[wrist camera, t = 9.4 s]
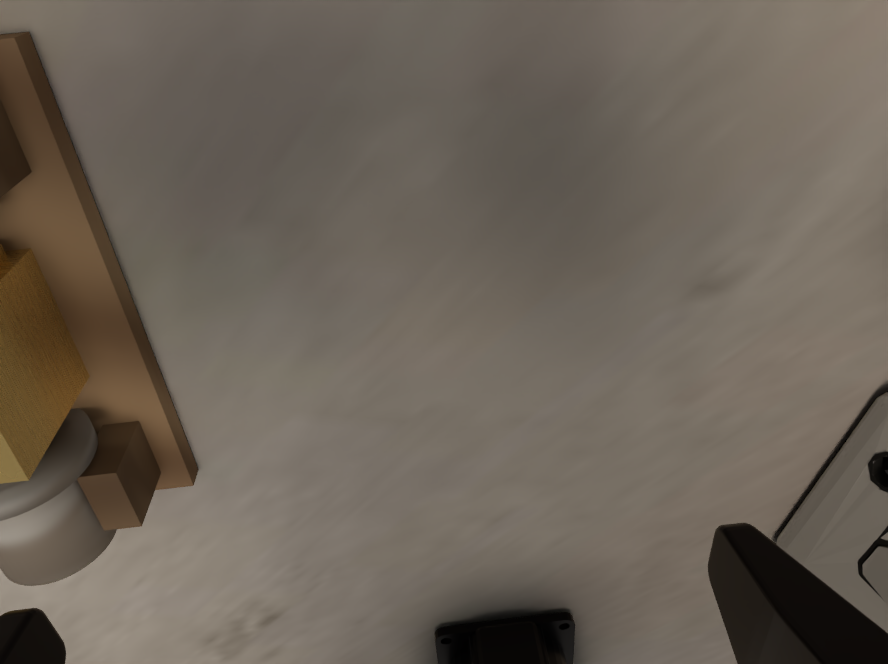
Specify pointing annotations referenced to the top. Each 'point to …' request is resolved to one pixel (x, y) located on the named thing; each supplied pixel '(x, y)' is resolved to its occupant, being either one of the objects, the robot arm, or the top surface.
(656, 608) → the top surface
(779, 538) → the electrical switch
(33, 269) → the yellow hollow block
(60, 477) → the pipe cradle
